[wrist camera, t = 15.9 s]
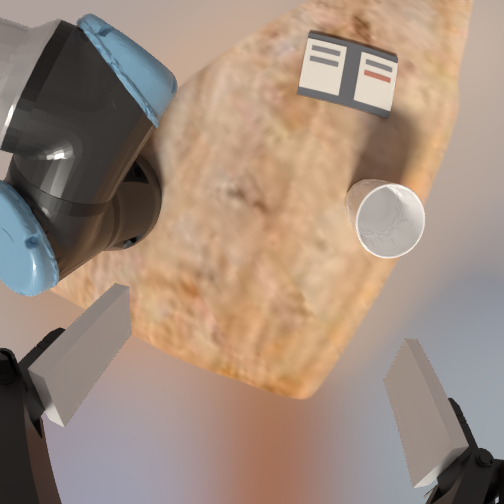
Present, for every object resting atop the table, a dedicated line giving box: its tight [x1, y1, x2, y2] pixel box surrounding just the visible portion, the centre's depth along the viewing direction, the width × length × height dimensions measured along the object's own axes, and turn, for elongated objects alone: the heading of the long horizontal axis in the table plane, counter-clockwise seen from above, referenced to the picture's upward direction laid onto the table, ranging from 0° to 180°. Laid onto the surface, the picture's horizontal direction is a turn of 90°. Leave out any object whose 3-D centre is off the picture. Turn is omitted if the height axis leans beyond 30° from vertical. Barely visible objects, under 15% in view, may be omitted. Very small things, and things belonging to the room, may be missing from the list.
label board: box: [297, 33, 398, 119], centre depth 32 cm, size 12×9×1 cm
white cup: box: [345, 179, 425, 258], centre depth 33 cm, size 8×8×10 cm
